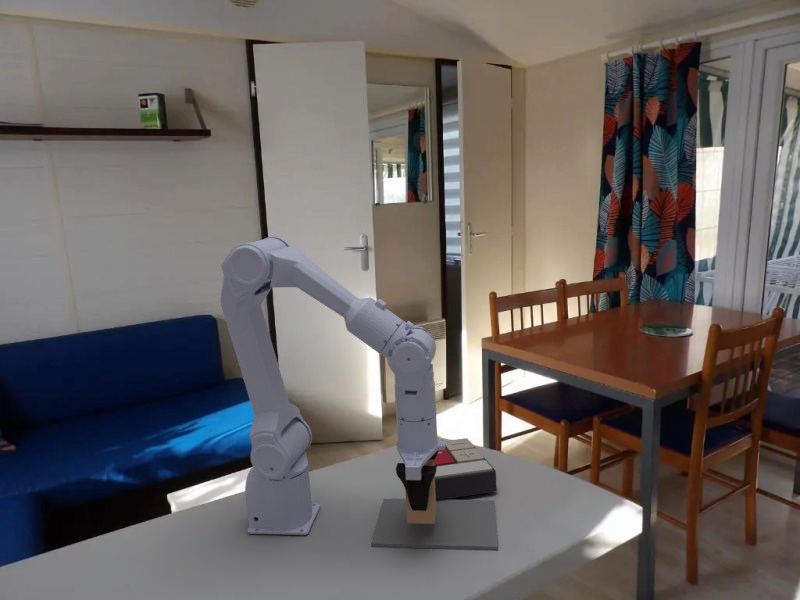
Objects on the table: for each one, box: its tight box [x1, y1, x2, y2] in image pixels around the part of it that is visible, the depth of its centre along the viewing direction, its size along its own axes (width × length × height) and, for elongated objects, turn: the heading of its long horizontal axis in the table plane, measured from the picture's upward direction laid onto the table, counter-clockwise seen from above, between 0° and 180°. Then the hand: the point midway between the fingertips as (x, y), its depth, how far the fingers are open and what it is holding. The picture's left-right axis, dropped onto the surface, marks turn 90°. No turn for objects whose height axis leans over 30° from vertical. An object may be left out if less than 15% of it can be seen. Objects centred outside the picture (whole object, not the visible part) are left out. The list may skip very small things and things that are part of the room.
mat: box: [370, 498, 499, 551], centre depth 88 cm, size 18×12×1 cm, turn 83°
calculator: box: [434, 438, 497, 500], centre depth 101 cm, size 11×4×15 cm
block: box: [404, 459, 436, 524], centre depth 85 cm, size 4×4×8 cm
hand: (420, 500), depth 85 cm, fingers closed on block, 4 cm apart
